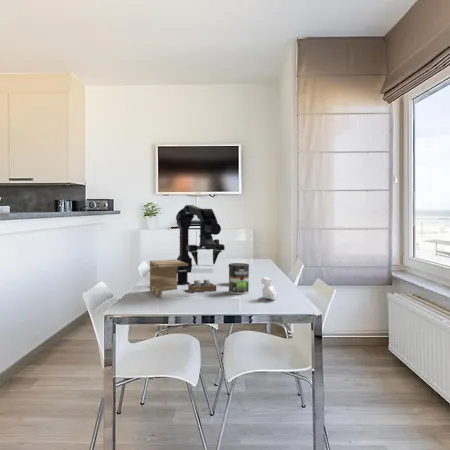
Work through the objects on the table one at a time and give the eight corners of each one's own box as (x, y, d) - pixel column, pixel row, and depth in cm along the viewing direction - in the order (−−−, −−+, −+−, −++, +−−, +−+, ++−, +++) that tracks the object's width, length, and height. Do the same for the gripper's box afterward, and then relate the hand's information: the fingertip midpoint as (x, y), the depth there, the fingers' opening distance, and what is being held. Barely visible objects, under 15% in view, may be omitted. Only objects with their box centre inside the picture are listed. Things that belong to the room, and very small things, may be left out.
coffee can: (251, 293, 194) (251, 265, 194) (231, 294, 192) (231, 266, 191) (245, 289, 204) (245, 262, 204) (226, 290, 202) (226, 263, 201)
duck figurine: (267, 300, 189) (253, 281, 189) (280, 291, 189) (266, 272, 189) (269, 306, 177) (254, 286, 177) (282, 296, 177) (267, 276, 177)
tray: (188, 289, 204) (188, 279, 204) (209, 287, 209) (209, 278, 209) (194, 292, 196) (194, 282, 196) (216, 290, 201) (216, 281, 201)
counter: (149, 291, 200) (149, 260, 199) (176, 288, 206) (176, 259, 205) (159, 298, 183) (159, 265, 183) (188, 295, 189) (188, 263, 189)
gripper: (193, 235, 186) (193, 267, 186) (229, 234, 193) (229, 265, 194) (186, 233, 196) (185, 264, 196) (220, 232, 203) (220, 262, 204)
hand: (205, 264), depth 197 cm, fingers open, 9 cm apart
